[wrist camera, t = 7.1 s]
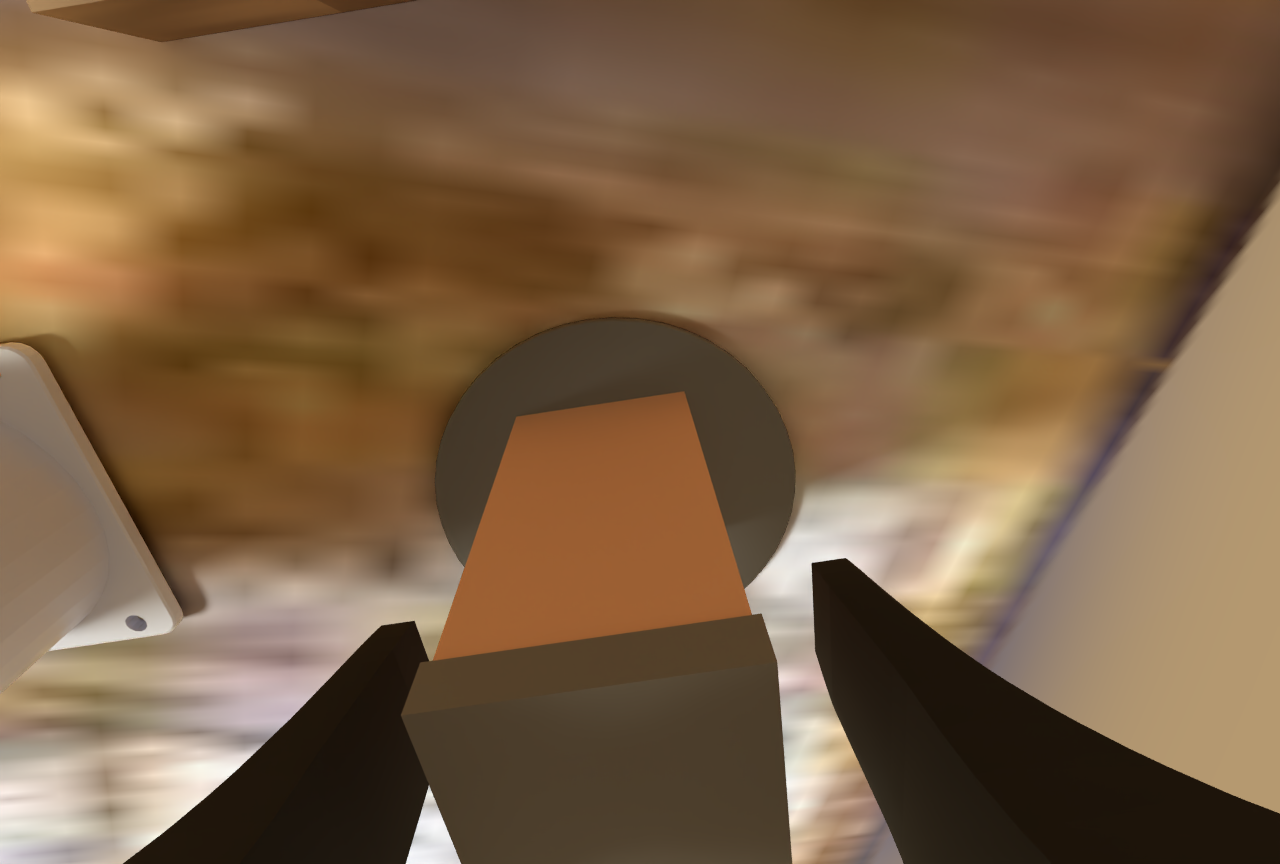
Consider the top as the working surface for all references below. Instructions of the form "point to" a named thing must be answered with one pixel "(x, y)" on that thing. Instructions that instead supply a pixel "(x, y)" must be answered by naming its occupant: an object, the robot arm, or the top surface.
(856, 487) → the top surface
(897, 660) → the robot arm
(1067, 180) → the top surface
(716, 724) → the plug
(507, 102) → the top surface
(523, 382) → the coaster
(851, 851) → the top surface
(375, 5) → the tan square socket
